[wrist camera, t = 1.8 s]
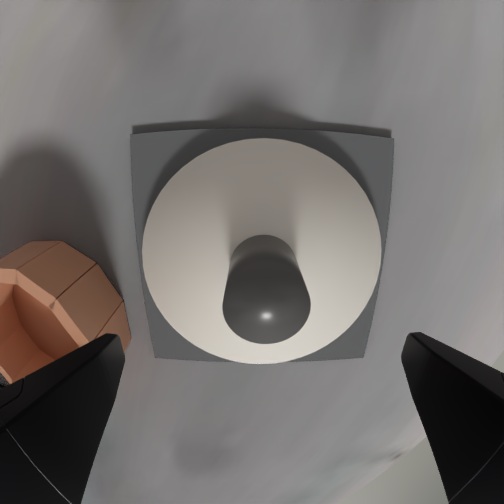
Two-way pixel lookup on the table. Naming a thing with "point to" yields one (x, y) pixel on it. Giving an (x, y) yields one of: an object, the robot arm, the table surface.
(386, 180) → the mat
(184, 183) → the lid
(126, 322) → the bowl
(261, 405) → the table surface
